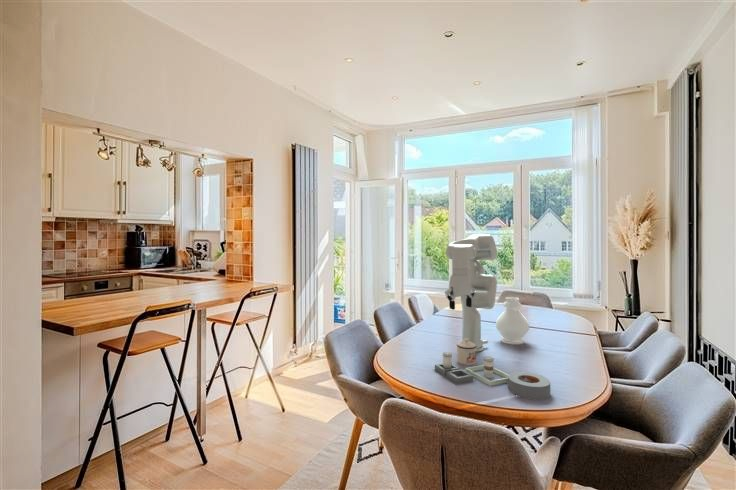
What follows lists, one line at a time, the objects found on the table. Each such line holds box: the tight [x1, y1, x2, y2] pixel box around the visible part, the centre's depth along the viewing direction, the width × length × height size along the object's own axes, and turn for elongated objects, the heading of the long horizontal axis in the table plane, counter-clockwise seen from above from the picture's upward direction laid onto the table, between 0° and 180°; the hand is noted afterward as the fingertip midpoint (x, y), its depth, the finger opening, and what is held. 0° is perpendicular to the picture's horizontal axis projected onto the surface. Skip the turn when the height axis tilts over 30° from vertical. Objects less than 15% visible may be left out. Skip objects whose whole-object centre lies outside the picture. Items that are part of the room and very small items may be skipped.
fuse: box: [442, 351, 453, 369], centre depth 160 cm, size 4×4×8 cm
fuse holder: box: [432, 362, 476, 386], centre depth 155 cm, size 18×10×3 cm, turn 22°
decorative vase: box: [495, 296, 530, 345], centre depth 207 cm, size 18×18×25 cm
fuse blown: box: [483, 356, 495, 379], centre depth 154 cm, size 4×4×8 cm
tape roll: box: [507, 371, 551, 401], centre depth 141 cm, size 15×15×5 cm
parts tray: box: [464, 364, 509, 387], centre depth 154 cm, size 12×16×2 cm
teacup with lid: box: [456, 339, 477, 366], centre depth 173 cm, size 12×9×12 cm
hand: (460, 307), depth 171 cm, fingers open, 9 cm apart
